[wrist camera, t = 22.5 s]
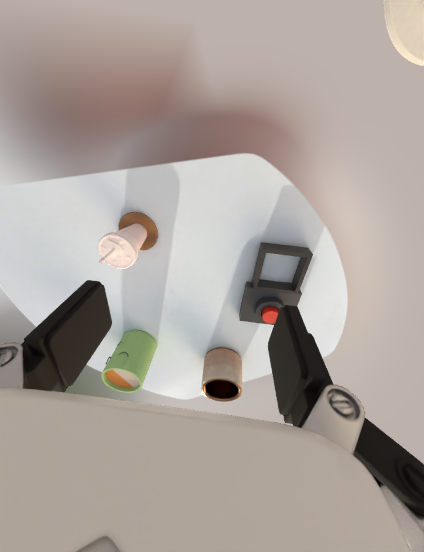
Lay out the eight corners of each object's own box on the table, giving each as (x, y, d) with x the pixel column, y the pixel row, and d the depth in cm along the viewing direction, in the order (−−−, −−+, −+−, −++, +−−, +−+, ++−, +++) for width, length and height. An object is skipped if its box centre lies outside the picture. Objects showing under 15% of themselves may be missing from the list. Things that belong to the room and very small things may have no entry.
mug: (141, 324, 58) (122, 362, 48) (163, 348, 63) (150, 387, 52) (108, 337, 62) (84, 375, 52) (131, 359, 67) (113, 397, 56)
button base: (246, 281, 48) (247, 292, 45) (299, 288, 48) (304, 299, 44) (239, 314, 53) (239, 326, 50) (286, 320, 53) (290, 332, 50)
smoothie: (144, 212, 41) (108, 239, 29) (159, 242, 44) (132, 277, 32) (116, 222, 43) (72, 252, 31) (132, 250, 46) (97, 287, 34)
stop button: (263, 304, 47) (264, 310, 45) (280, 306, 47) (281, 312, 45) (260, 316, 49) (261, 322, 47) (275, 318, 48) (277, 324, 47)
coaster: (116, 209, 42) (115, 210, 41) (156, 214, 42) (156, 215, 41) (122, 246, 46) (121, 247, 46) (158, 251, 46) (157, 252, 45)
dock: (260, 242, 43) (262, 248, 40) (308, 247, 43) (313, 254, 40) (251, 281, 48) (252, 289, 45) (294, 286, 48) (297, 294, 45)
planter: (238, 372, 66) (239, 404, 57) (203, 368, 66) (199, 399, 58) (243, 348, 60) (245, 380, 52) (205, 344, 60) (201, 375, 52)
